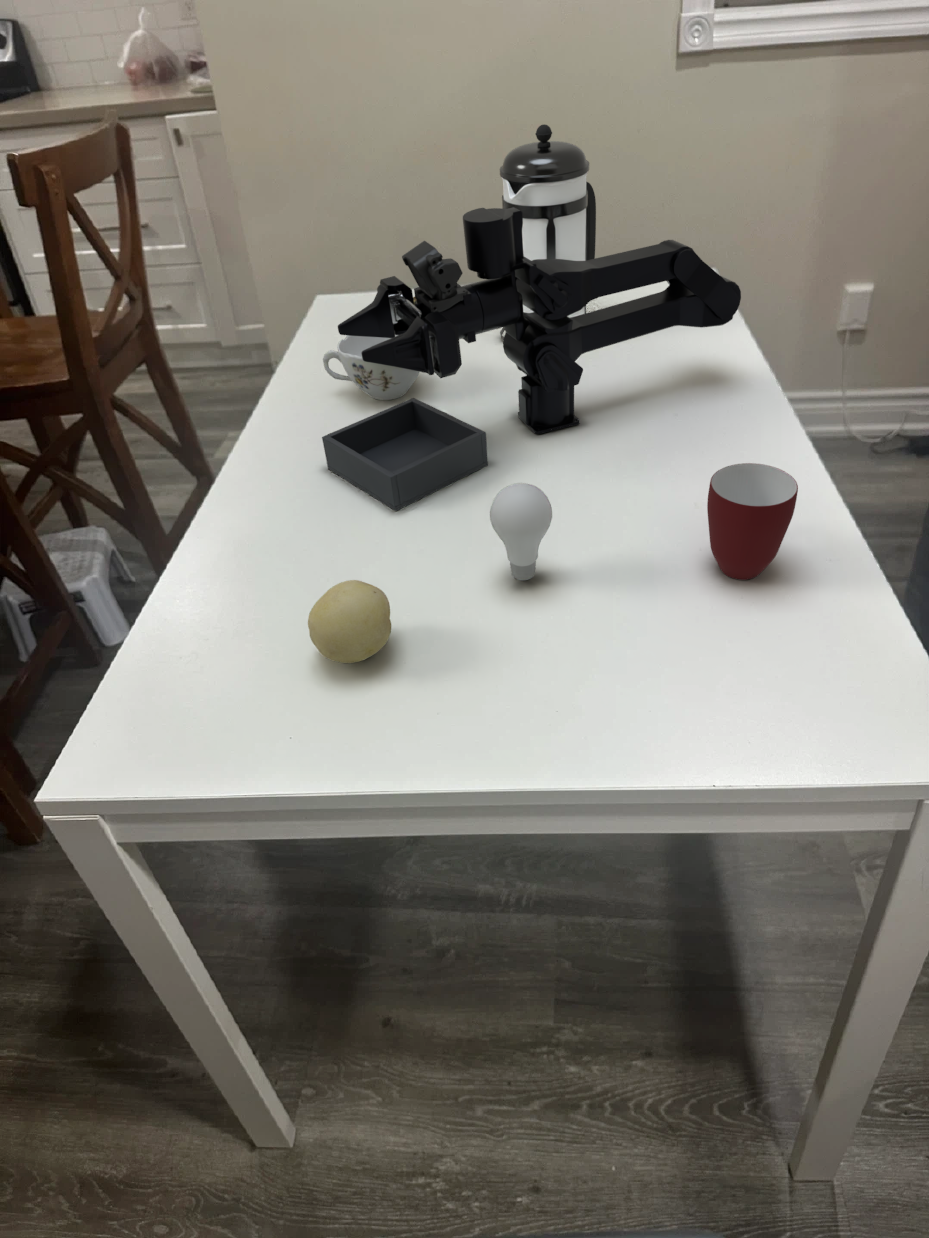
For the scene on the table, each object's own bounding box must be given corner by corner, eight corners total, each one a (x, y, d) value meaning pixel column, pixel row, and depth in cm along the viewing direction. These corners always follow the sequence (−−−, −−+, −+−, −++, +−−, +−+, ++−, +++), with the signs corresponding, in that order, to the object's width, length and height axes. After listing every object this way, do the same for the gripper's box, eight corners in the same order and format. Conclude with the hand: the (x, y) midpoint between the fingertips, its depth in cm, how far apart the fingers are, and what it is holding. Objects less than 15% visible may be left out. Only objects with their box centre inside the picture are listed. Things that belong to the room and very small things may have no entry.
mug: (686, 536, 94) (694, 454, 87) (760, 530, 93) (774, 447, 87) (710, 596, 85) (722, 510, 79) (792, 589, 85) (810, 502, 79)
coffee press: (604, 350, 133) (611, 130, 114) (501, 357, 134) (490, 140, 115) (593, 309, 146) (597, 107, 127) (499, 316, 147) (489, 115, 128)
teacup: (432, 371, 132) (427, 319, 127) (429, 408, 122) (423, 353, 117) (335, 378, 133) (325, 327, 128) (324, 415, 123) (313, 361, 118)
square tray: (417, 428, 118) (413, 397, 115) (488, 465, 109) (486, 432, 106) (327, 469, 111) (321, 436, 108) (395, 511, 102) (390, 477, 99)
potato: (408, 666, 81) (398, 599, 76) (327, 691, 79) (310, 624, 74) (385, 619, 86) (374, 554, 81) (309, 641, 85) (292, 576, 80)
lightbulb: (559, 565, 91) (558, 474, 84) (544, 600, 87) (542, 507, 80) (504, 557, 93) (499, 468, 86) (486, 591, 89) (479, 500, 82)
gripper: (435, 220, 105) (312, 250, 101) (501, 261, 91) (361, 296, 87) (446, 311, 112) (332, 342, 108) (508, 361, 98) (380, 398, 95)
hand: (350, 342), depth 99 cm, fingers open, 9 cm apart
